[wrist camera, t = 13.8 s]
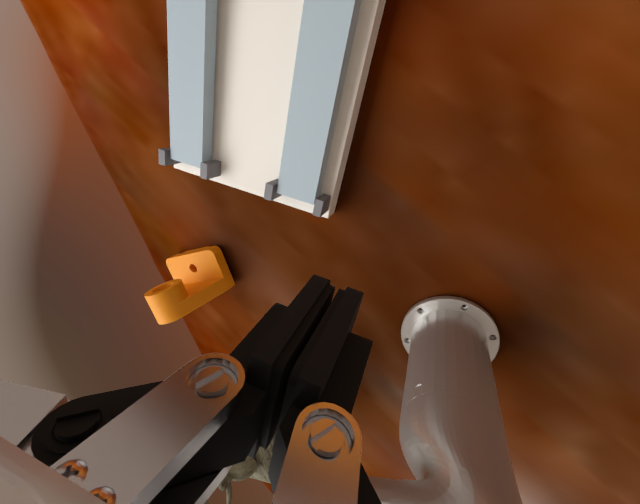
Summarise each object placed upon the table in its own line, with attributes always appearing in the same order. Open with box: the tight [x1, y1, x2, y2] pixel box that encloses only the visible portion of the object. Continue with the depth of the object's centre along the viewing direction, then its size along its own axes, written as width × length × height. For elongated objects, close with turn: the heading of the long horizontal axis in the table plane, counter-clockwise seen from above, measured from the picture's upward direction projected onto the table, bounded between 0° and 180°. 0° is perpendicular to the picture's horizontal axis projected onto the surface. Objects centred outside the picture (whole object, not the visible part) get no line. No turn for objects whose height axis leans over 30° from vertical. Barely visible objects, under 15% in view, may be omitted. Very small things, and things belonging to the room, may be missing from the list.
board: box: [159, 0, 386, 218], centre depth 37 cm, size 28×24×6 cm
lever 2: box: [277, 0, 361, 205], centre depth 35 cm, size 22×5×2 cm, turn 168°
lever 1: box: [167, 0, 218, 168], centre depth 38 cm, size 22×5×2 cm, turn 168°
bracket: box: [144, 246, 235, 324], centre depth 50 cm, size 11×7×12 cm, turn 109°
